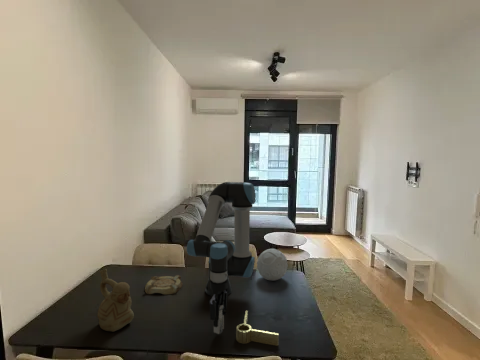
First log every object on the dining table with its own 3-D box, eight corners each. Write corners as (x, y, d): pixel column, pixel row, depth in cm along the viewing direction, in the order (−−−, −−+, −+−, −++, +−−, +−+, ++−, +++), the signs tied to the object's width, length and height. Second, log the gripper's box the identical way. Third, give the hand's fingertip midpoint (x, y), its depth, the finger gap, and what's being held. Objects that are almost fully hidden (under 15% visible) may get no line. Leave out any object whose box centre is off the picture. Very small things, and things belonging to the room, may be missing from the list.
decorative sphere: (293, 256, 202) (286, 248, 186) (286, 286, 195) (278, 281, 179) (266, 250, 211) (257, 242, 195) (259, 278, 204) (249, 273, 188)
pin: (212, 332, 133) (212, 306, 132) (217, 328, 137) (217, 302, 135) (220, 335, 131) (220, 308, 130) (224, 330, 135) (225, 304, 134)
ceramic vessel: (112, 340, 130) (110, 283, 128) (85, 326, 140) (84, 273, 138) (143, 321, 144) (143, 271, 142) (117, 310, 154) (116, 262, 152)
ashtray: (170, 299, 167) (170, 290, 167) (135, 292, 175) (135, 284, 174) (191, 282, 190) (191, 274, 189) (158, 277, 197) (158, 269, 197)
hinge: (228, 339, 131) (228, 328, 131) (245, 319, 147) (246, 309, 146) (273, 353, 122) (273, 341, 122) (286, 330, 138) (286, 320, 137)
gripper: (217, 288, 123) (216, 343, 125) (234, 274, 137) (234, 323, 139) (201, 285, 126) (201, 338, 128) (220, 271, 140) (220, 319, 143)
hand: (218, 330), depth 134 cm, fingers closed on pin, 3 cm apart
